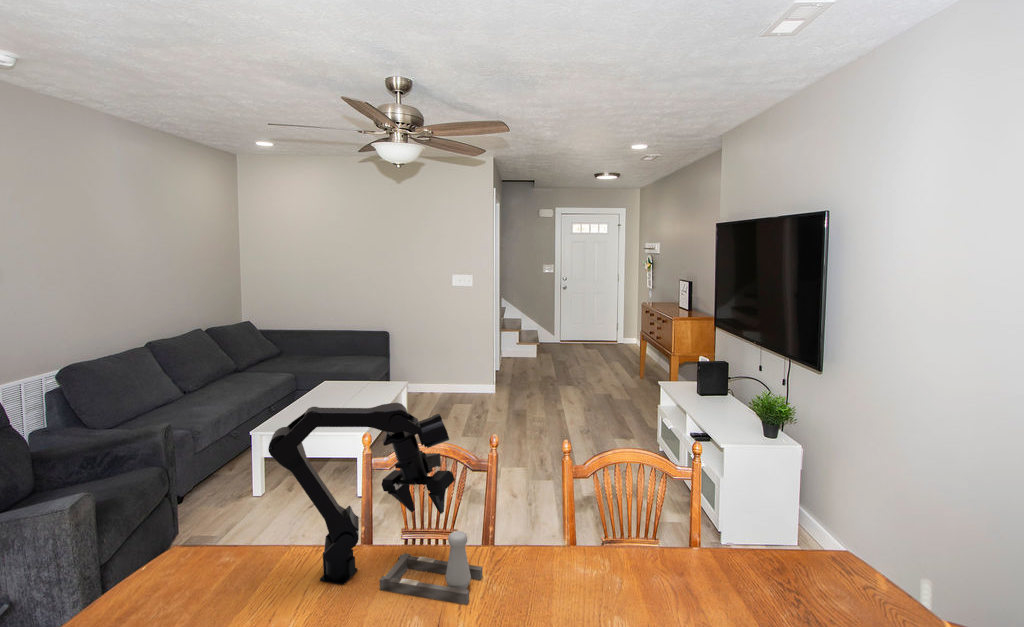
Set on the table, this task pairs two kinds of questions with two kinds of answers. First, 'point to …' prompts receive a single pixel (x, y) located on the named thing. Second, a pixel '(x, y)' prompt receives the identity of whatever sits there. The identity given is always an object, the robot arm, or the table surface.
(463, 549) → the salt shaker
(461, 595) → the guide rails
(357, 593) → the table surface
